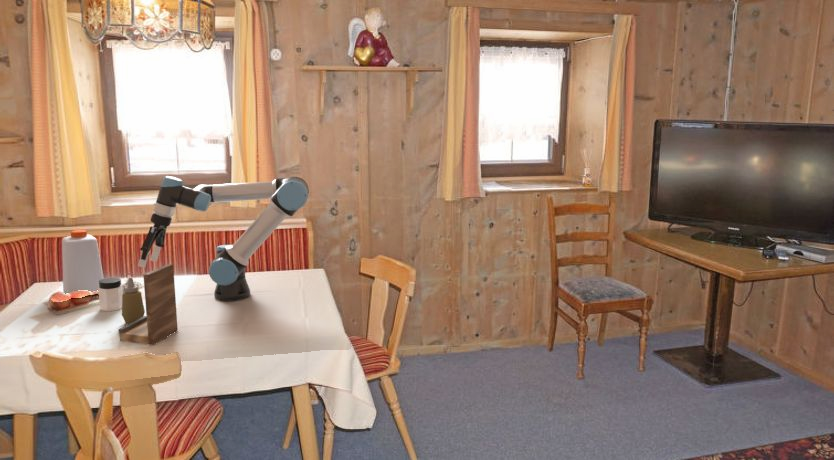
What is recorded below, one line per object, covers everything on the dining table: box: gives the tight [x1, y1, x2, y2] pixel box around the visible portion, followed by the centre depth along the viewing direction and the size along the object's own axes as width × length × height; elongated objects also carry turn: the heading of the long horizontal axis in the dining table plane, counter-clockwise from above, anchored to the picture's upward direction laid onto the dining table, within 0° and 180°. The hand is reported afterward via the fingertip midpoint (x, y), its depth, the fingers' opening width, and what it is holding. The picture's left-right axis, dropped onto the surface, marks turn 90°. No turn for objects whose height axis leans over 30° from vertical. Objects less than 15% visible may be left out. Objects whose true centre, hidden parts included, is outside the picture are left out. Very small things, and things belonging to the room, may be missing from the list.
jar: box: [98, 276, 124, 312], centre depth 251 cm, size 9×8×12 cm
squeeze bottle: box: [121, 276, 146, 325], centre depth 236 cm, size 8×8×18 cm
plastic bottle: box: [61, 229, 105, 294], centre depth 268 cm, size 15×15×28 cm
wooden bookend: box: [118, 263, 179, 346], centre depth 222 cm, size 14×14×26 cm
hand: (147, 264), depth 247 cm, fingers open, 13 cm apart
